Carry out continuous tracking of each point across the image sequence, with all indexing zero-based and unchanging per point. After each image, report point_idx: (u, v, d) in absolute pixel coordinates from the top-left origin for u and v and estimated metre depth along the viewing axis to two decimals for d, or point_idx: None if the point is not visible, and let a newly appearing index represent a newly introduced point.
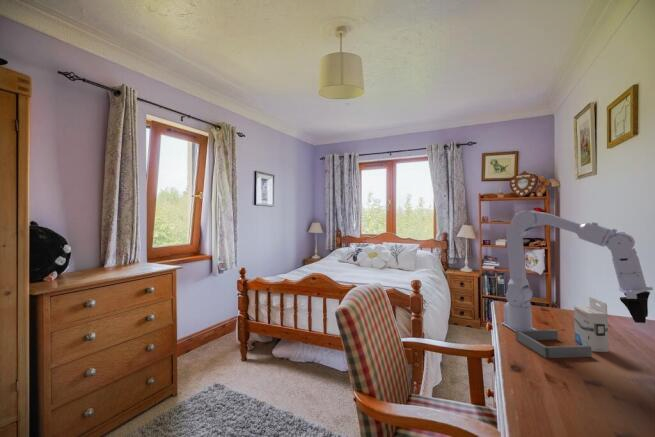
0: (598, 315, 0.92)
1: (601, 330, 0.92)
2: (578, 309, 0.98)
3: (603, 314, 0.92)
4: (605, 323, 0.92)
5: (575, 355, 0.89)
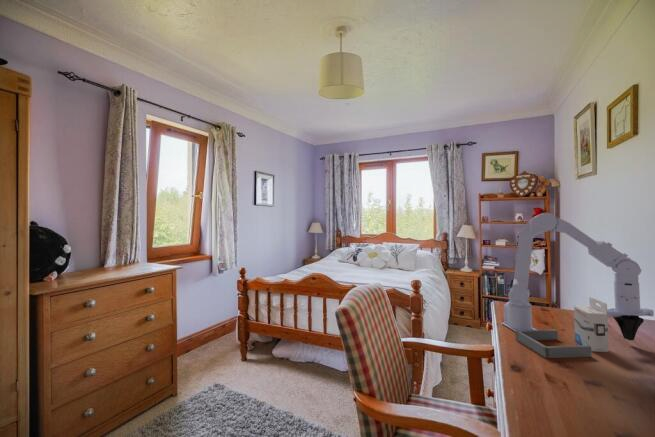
0: (598, 315, 0.92)
1: (601, 330, 0.92)
2: (578, 309, 0.98)
3: (603, 314, 0.92)
4: (605, 323, 0.92)
5: (575, 355, 0.89)
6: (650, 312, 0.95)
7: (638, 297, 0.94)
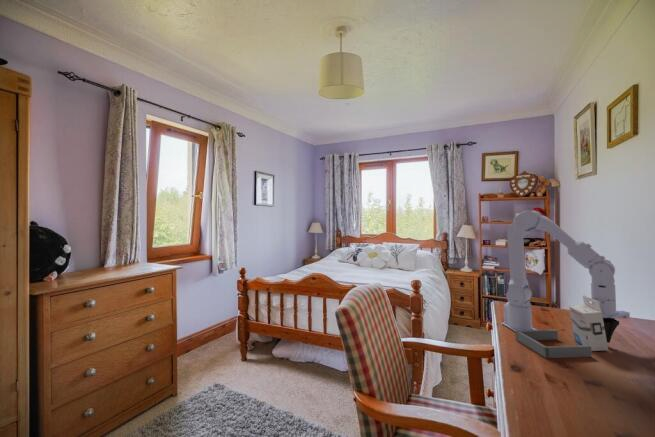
0: (592, 314, 0.92)
1: (597, 328, 0.92)
2: (573, 309, 0.98)
3: (597, 313, 0.92)
4: (601, 321, 0.92)
5: (575, 355, 0.89)
6: (626, 315, 0.95)
7: (614, 299, 0.94)
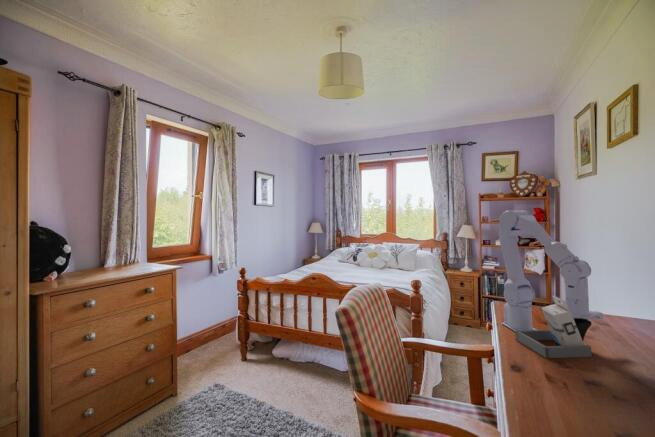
0: (562, 314, 0.93)
1: (570, 328, 0.92)
2: (545, 311, 0.98)
3: (567, 312, 0.92)
4: (572, 321, 0.92)
5: (575, 355, 0.89)
6: (599, 315, 0.95)
7: (586, 300, 0.93)
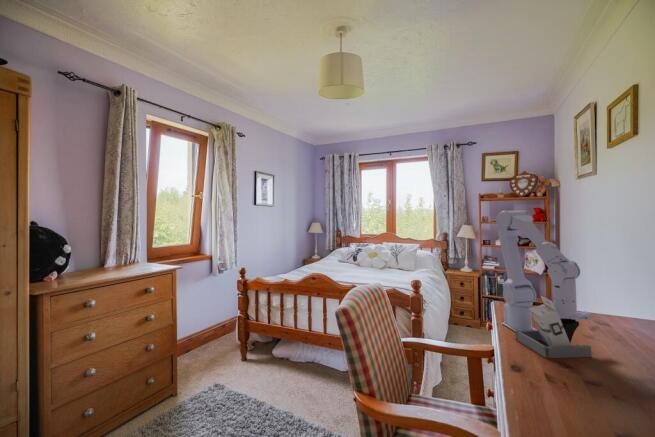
0: (549, 315, 0.93)
1: (557, 328, 0.92)
2: (533, 311, 0.99)
3: (553, 313, 0.92)
4: (558, 321, 0.92)
5: (575, 355, 0.89)
6: (587, 316, 0.95)
7: (574, 300, 0.93)
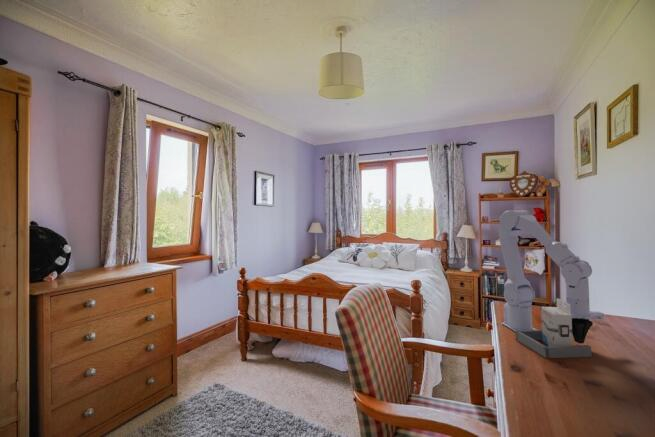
0: (562, 316, 0.92)
1: (565, 331, 0.92)
2: (545, 310, 0.98)
3: (567, 315, 0.92)
4: (569, 324, 0.92)
5: (575, 355, 0.89)
6: (600, 315, 0.95)
7: (587, 300, 0.93)
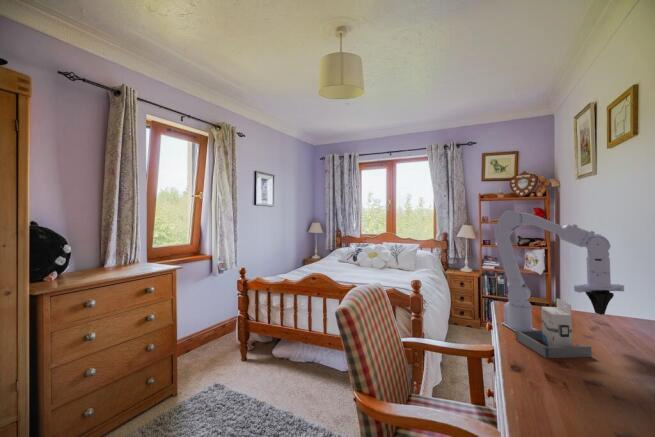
0: (562, 316, 0.92)
1: (565, 331, 0.92)
2: (544, 310, 0.98)
3: (567, 315, 0.92)
4: (569, 324, 0.92)
5: (575, 355, 0.89)
6: (620, 288, 0.98)
7: (608, 272, 0.96)
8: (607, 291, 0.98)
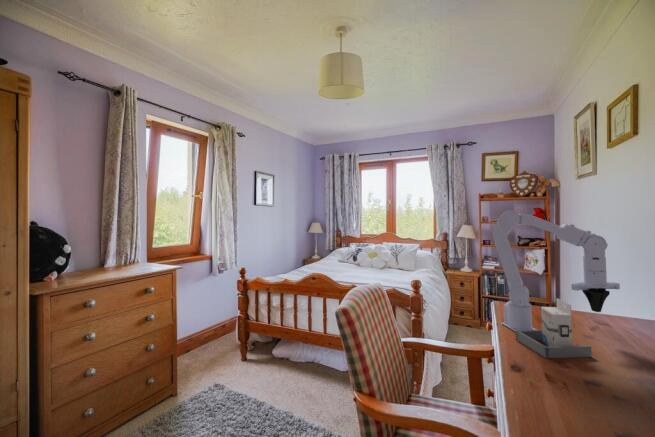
0: (562, 316, 0.92)
1: (565, 331, 0.92)
2: (544, 310, 0.98)
3: (567, 315, 0.92)
4: (569, 324, 0.92)
5: (575, 355, 0.89)
6: (616, 286, 1.00)
7: (604, 271, 0.99)
8: (603, 289, 1.00)
